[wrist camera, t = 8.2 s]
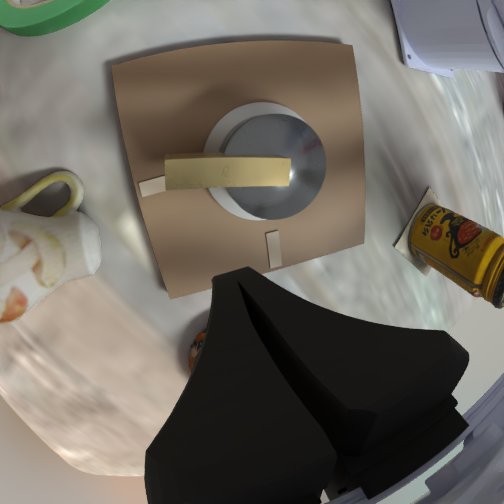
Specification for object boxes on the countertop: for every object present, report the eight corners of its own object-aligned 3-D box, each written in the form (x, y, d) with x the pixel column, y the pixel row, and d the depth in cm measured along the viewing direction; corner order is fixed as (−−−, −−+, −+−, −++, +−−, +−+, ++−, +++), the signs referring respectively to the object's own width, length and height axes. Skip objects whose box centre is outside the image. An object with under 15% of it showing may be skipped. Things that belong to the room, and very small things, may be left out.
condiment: (428, 185, 23) (528, 231, 13) (454, 224, 27) (531, 269, 17) (392, 246, 25) (486, 313, 15) (424, 275, 29) (496, 331, 18)
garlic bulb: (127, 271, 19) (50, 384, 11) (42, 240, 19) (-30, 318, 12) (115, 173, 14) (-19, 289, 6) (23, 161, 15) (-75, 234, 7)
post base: (113, 68, 13) (110, 64, 12) (346, 47, 16) (355, 44, 15) (169, 293, 20) (170, 302, 19) (358, 239, 23) (366, 245, 22)
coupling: (313, 119, 16) (344, 120, 13) (306, 208, 19) (333, 226, 16) (165, 113, 14) (164, 109, 11) (167, 215, 16) (168, 237, 13)
